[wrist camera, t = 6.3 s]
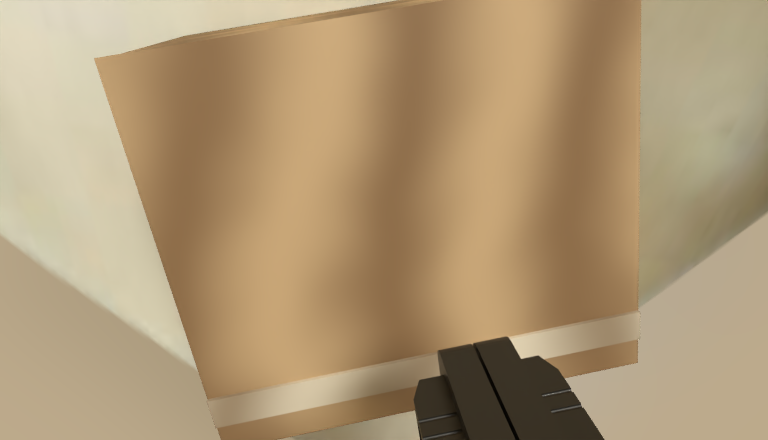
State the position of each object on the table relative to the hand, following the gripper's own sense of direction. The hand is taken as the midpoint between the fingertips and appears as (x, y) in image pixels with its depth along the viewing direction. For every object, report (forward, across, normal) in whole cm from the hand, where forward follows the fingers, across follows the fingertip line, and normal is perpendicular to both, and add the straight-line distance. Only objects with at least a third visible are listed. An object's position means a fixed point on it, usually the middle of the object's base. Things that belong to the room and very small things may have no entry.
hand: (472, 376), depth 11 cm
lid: (+8, 0, 0) cm, 8 cm away
